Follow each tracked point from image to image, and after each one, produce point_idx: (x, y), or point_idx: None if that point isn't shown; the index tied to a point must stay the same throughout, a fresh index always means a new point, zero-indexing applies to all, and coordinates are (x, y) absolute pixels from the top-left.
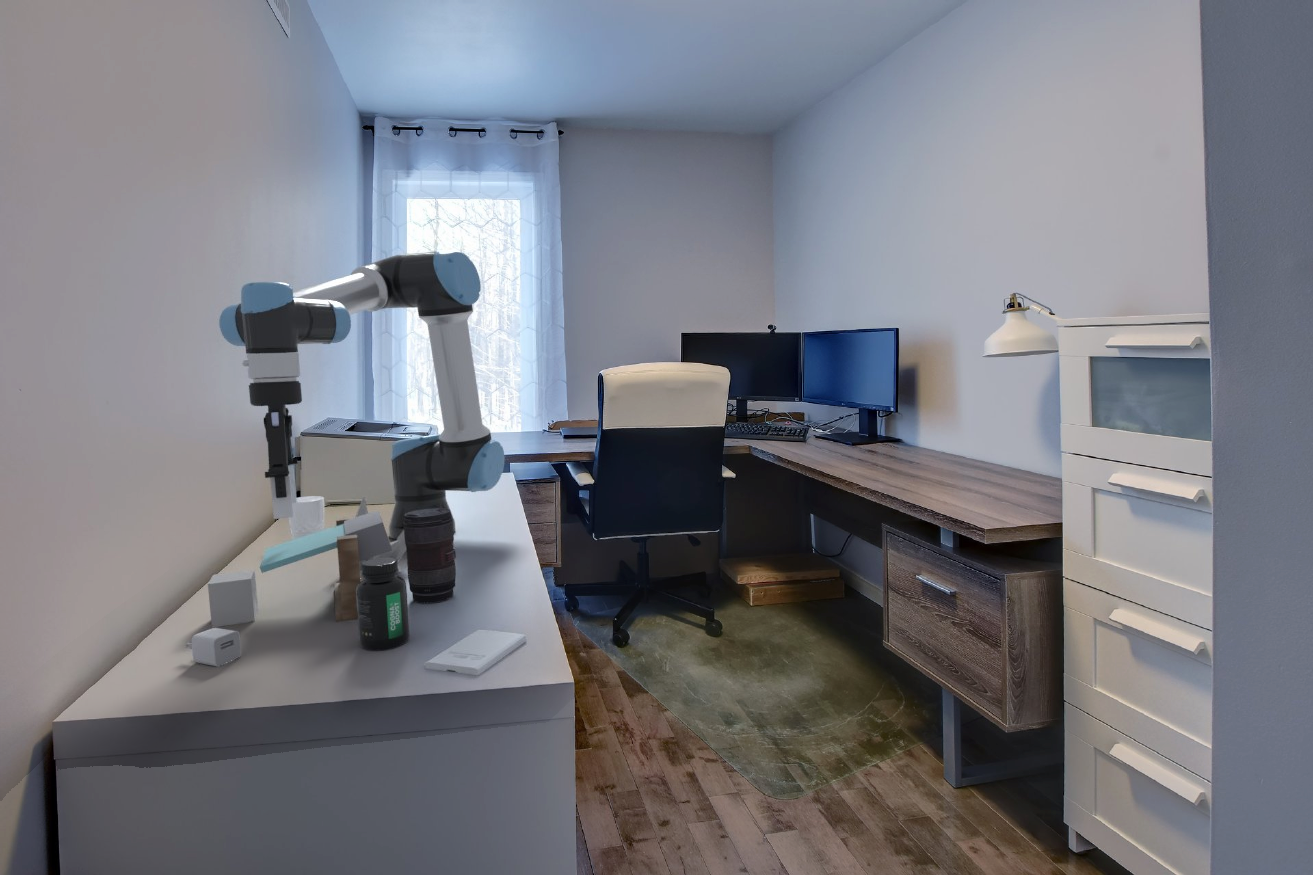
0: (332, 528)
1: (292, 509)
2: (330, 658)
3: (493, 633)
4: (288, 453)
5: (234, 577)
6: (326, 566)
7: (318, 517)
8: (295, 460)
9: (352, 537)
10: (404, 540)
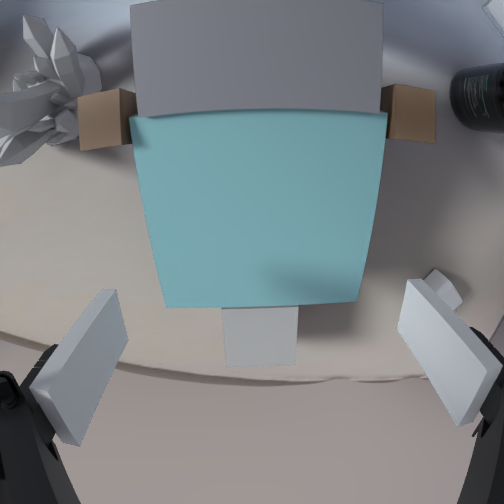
0: (156, 153)
1: (430, 290)
2: (488, 168)
3: (500, 2)
4: (49, 466)
5: (270, 334)
6: (4, 190)
7: None
8: (2, 390)
9: (428, 101)
10: (46, 25)
